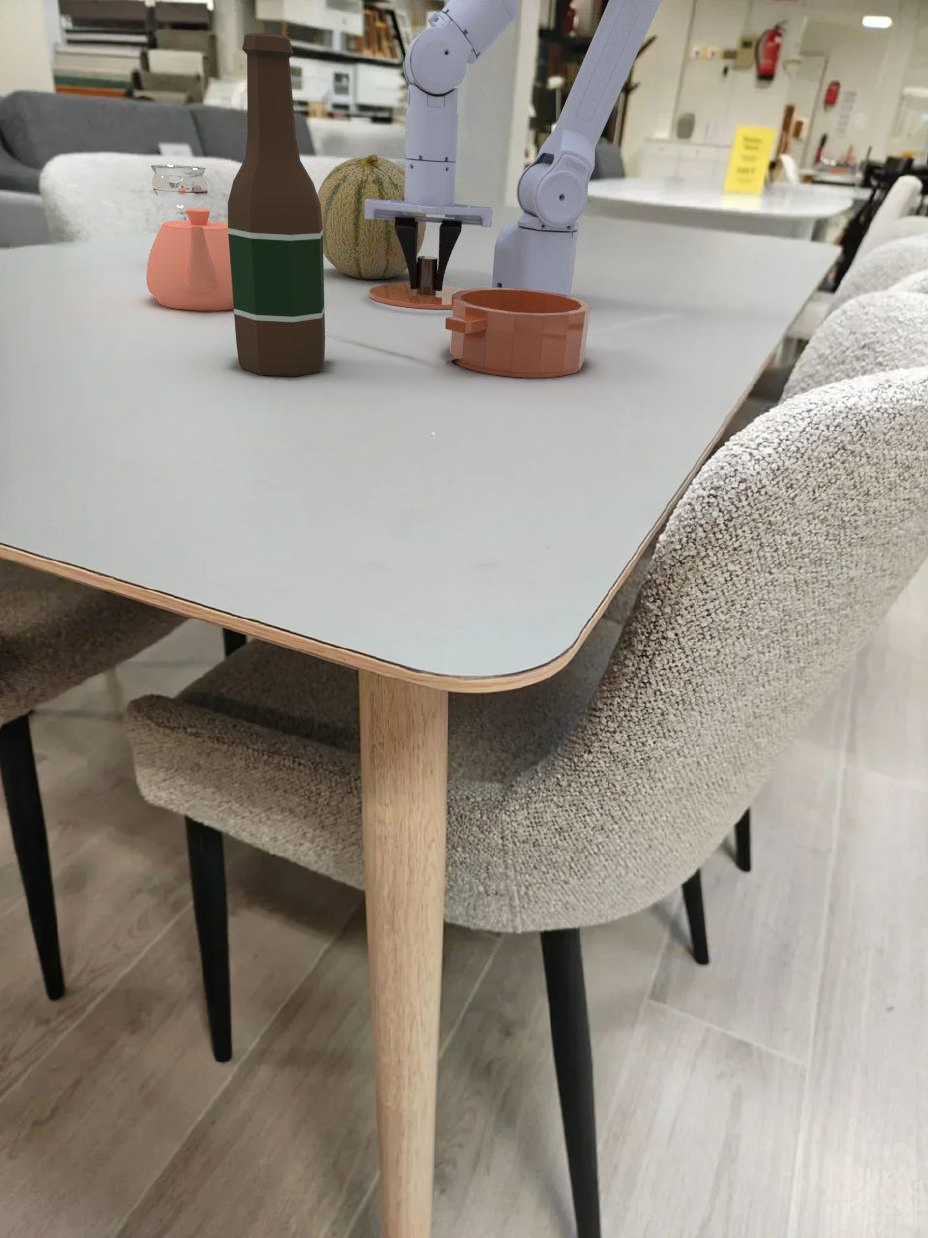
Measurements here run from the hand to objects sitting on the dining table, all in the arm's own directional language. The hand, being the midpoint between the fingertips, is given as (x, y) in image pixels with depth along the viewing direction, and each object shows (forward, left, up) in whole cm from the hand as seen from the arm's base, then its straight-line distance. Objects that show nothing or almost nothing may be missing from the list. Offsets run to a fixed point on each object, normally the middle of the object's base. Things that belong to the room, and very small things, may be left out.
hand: (426, 288), depth 103 cm
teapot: (-13, -22, -2) cm, 26 cm away
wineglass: (-33, -11, -2) cm, 35 cm away
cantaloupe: (-15, +5, -2) cm, 16 cm away
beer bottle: (+13, -32, -2) cm, 35 cm away
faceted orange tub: (+24, -13, -2) cm, 27 cm away
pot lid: (0, 0, -1) cm, 1 cm away
